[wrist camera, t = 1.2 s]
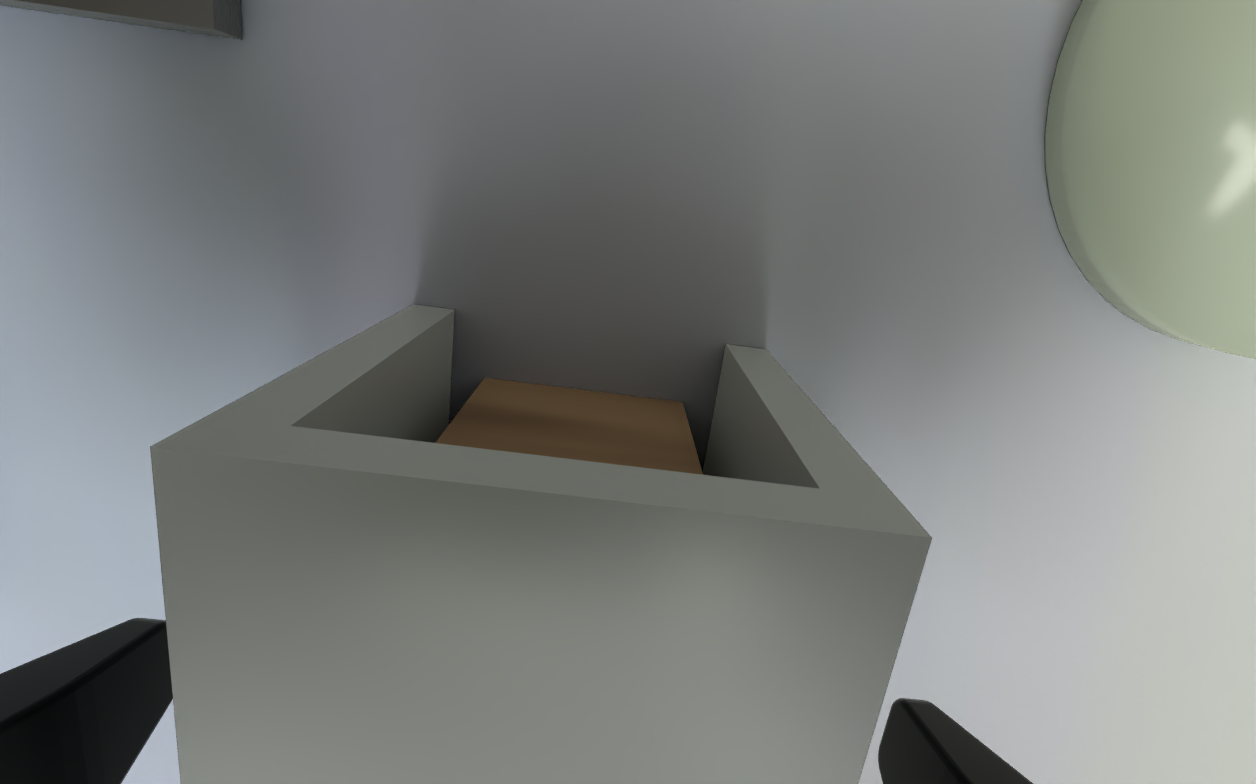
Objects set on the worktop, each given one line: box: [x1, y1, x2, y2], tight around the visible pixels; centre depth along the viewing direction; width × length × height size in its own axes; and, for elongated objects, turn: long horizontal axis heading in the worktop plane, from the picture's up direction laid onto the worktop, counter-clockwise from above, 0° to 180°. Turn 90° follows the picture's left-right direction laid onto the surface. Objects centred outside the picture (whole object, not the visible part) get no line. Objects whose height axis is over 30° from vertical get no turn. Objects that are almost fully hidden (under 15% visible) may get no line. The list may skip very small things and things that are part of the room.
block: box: [435, 378, 703, 475], centre depth 12 cm, size 4×4×4 cm
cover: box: [150, 304, 932, 784], centre depth 10 cm, size 7×7×7 cm
